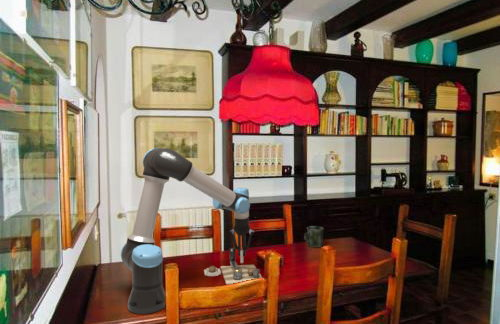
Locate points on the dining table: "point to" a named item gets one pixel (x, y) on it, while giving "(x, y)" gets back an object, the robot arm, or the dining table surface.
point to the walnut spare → (212, 269)
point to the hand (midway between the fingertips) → (241, 262)
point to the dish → (212, 273)
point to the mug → (314, 236)
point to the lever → (233, 263)
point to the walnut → (250, 271)
